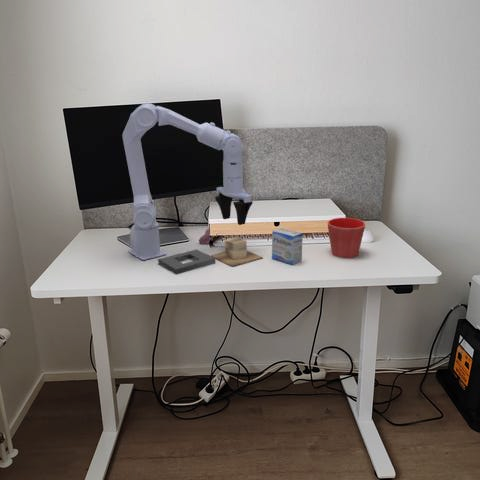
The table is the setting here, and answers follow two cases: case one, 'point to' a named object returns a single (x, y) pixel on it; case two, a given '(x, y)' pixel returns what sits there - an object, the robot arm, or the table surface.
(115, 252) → the table surface
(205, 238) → the video game controller
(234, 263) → the mat
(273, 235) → the medicine box
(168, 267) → the holder
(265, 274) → the table surface
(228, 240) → the square plug
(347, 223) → the flower pot
